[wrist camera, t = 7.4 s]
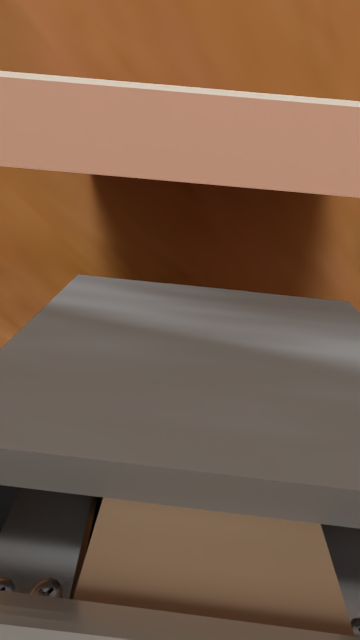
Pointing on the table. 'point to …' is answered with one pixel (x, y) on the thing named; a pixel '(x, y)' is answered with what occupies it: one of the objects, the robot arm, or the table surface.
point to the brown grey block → (194, 443)
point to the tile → (180, 134)
